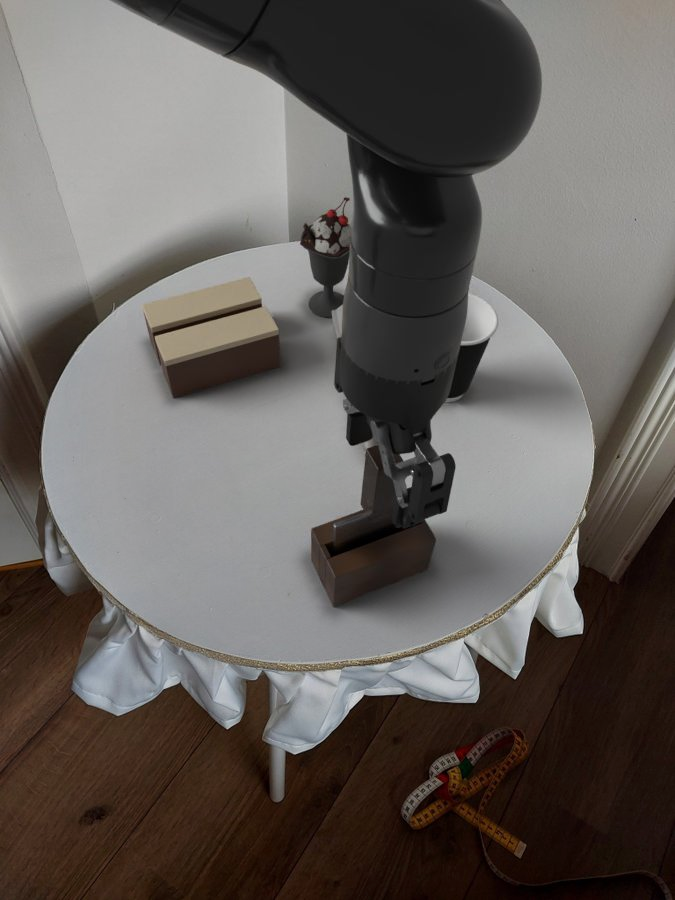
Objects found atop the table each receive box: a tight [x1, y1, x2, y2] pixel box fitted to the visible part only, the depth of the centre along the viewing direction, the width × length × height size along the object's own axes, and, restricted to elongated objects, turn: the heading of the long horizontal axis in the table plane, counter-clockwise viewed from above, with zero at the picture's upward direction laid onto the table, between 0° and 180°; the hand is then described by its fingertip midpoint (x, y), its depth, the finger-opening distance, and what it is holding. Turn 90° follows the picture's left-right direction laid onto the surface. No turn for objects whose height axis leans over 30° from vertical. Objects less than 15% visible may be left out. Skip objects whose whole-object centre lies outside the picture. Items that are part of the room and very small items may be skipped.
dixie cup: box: [444, 292, 499, 403], centre depth 80 cm, size 8×8×11 cm
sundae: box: [299, 197, 351, 319], centre depth 86 cm, size 7×7×15 cm
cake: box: [141, 276, 281, 399], centre depth 84 cm, size 13×10×6 cm
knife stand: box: [310, 509, 437, 608], centre depth 68 cm, size 10×5×6 cm, turn 114°
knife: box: [332, 444, 413, 557], centre depth 63 cm, size 8×2×18 cm, turn 114°
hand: (381, 479), depth 58 cm, fingers open, 8 cm apart
